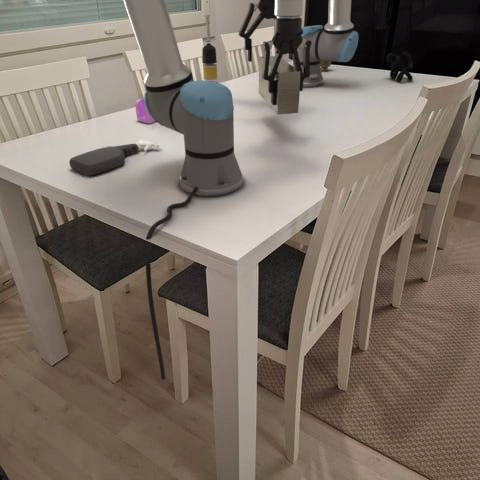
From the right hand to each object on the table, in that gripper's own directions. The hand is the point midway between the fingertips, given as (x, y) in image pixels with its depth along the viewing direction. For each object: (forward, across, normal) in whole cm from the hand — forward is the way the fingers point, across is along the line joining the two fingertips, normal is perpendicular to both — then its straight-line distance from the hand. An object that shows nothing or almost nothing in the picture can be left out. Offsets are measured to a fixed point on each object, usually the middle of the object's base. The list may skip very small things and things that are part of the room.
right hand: (270, 60), depth 143 cm
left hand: (+9, 0, +18) cm, 20 cm away
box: (+11, 0, +9) cm, 14 cm away
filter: (+19, +16, -33) cm, 41 cm away
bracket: (+20, +38, -12) cm, 44 cm away
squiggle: (+19, -71, -44) cm, 86 cm away
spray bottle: (+20, +50, +26) cm, 60 cm away
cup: (+19, -45, -72) cm, 87 cm away
